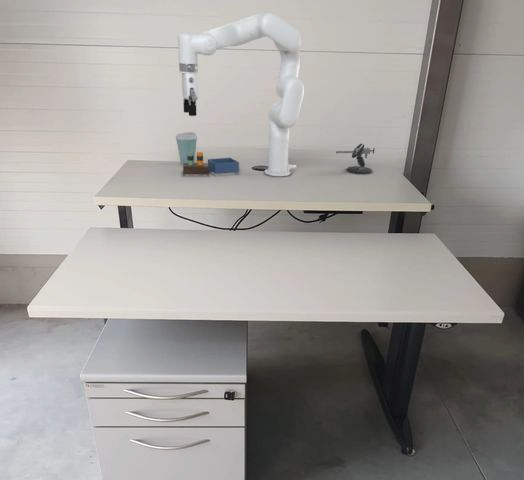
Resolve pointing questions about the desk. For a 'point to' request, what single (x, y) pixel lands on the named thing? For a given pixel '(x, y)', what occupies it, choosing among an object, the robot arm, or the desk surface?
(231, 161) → the tote
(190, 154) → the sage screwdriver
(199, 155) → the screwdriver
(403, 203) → the desk surface
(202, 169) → the rack
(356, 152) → the gun turret
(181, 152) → the cup of blue liquid
